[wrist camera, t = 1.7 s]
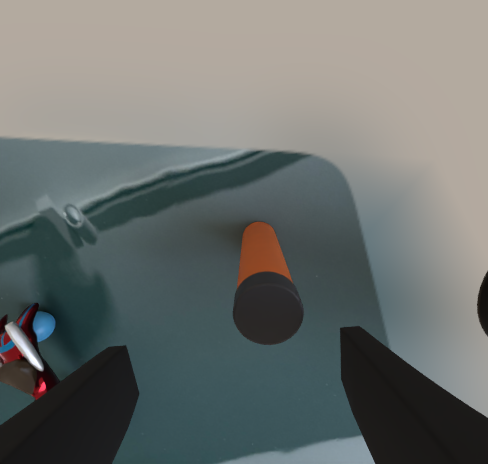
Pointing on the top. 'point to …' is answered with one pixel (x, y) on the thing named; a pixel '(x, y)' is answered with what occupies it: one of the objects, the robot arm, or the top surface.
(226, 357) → the top surface
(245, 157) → the top surface
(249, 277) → the marker
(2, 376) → the hoverbike
